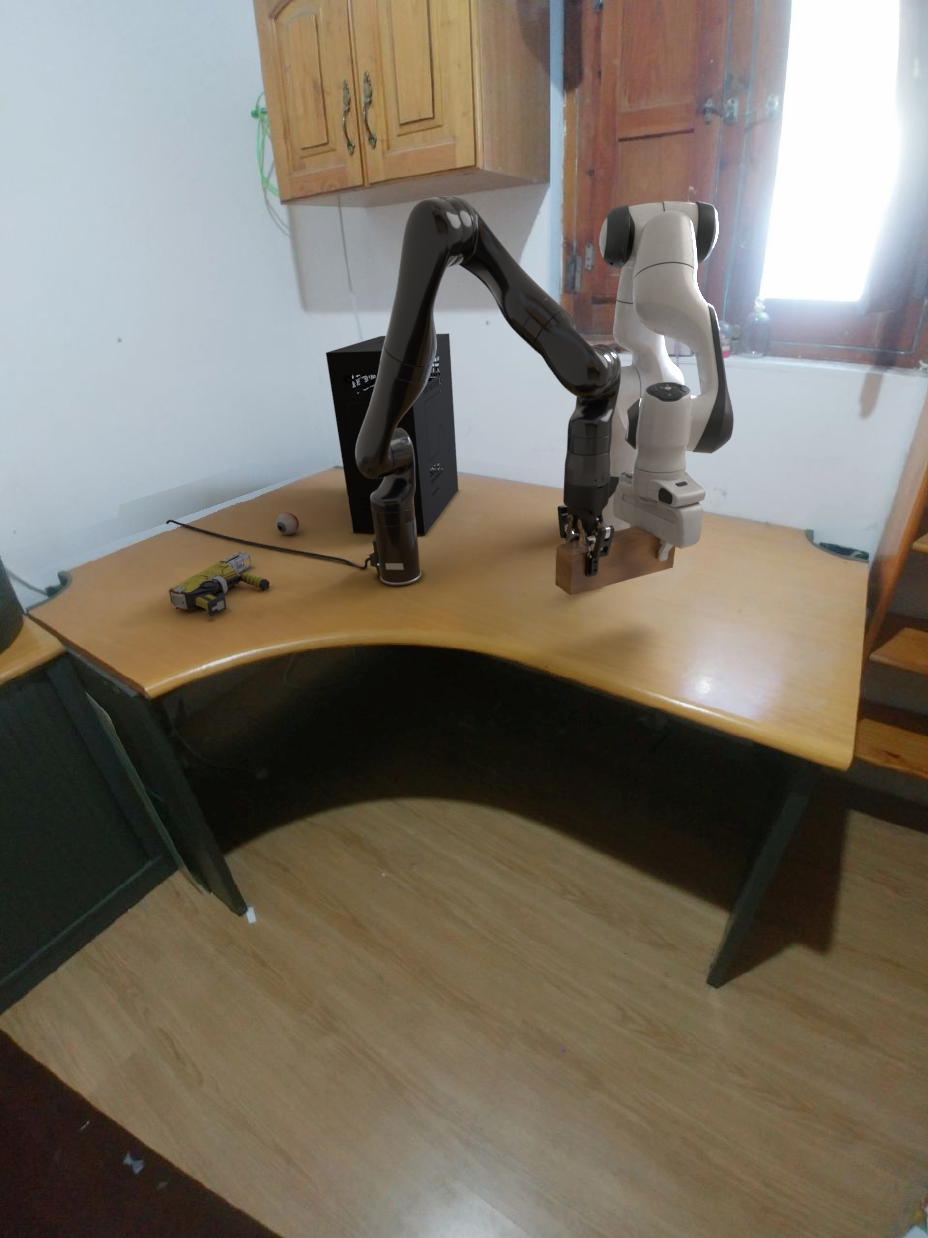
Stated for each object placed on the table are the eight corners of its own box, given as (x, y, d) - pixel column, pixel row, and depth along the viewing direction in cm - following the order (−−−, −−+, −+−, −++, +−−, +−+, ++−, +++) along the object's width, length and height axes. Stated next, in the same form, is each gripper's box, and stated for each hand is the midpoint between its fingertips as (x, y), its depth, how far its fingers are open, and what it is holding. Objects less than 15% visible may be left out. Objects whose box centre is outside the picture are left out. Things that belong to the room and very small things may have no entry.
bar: (654, 558, 119) (659, 520, 115) (672, 567, 115) (678, 529, 111) (554, 584, 111) (556, 545, 107) (570, 595, 107) (572, 555, 103)
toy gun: (290, 560, 142) (237, 549, 146) (223, 603, 122) (163, 589, 126) (292, 578, 144) (239, 566, 148) (226, 623, 124) (167, 609, 128)
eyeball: (273, 537, 164) (268, 516, 161) (287, 528, 169) (282, 508, 166) (291, 539, 161) (286, 518, 158) (305, 530, 166) (301, 510, 163)
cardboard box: (424, 535, 159) (408, 350, 137) (353, 532, 164) (325, 352, 141) (458, 489, 191) (449, 333, 168) (397, 488, 195) (380, 335, 173)
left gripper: (544, 470, 105) (543, 559, 113) (593, 492, 93) (587, 590, 102) (581, 463, 107) (576, 551, 116) (632, 484, 96) (623, 580, 104)
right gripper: (607, 470, 114) (602, 538, 121) (683, 500, 98) (673, 577, 105) (634, 465, 116) (628, 532, 123) (713, 493, 100) (701, 569, 107)
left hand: (581, 569), depth 109 cm, fingers closed on bar, 5 cm apart
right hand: (649, 553), depth 114 cm, fingers closed on bar, 5 cm apart
